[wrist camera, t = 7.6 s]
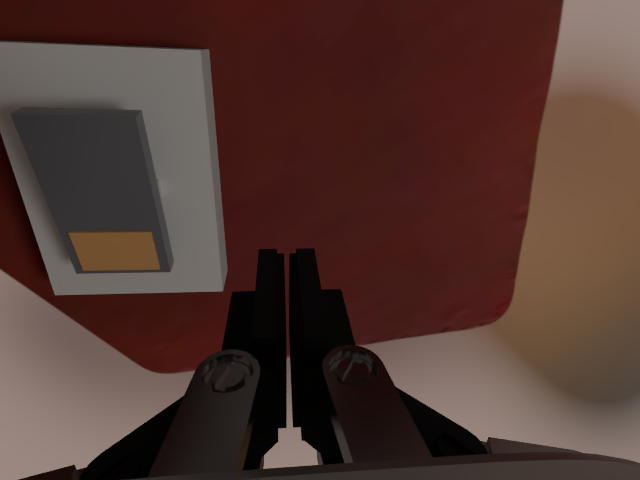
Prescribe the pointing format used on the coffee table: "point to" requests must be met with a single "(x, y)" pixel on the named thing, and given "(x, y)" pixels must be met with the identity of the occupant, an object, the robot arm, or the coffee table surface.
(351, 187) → the coffee table surface
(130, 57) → the switch box
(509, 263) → the coffee table surface
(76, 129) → the rocker switch
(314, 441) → the robot arm
